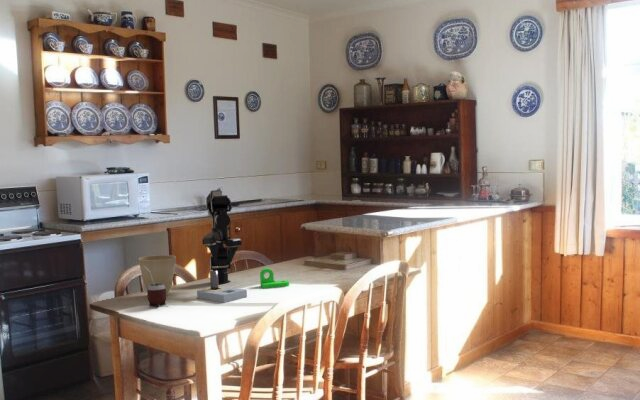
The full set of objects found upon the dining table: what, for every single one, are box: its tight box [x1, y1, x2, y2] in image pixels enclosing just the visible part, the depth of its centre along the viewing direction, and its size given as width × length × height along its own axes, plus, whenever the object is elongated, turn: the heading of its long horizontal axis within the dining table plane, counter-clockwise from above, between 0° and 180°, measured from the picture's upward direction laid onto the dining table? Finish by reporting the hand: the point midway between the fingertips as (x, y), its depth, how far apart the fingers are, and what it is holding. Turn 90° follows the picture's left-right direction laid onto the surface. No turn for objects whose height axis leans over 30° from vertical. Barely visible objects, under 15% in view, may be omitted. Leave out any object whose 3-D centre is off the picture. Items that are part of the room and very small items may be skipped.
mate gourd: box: [144, 266, 167, 308], centre depth 252 cm, size 8×8×15 cm
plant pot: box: [138, 254, 177, 297], centre depth 270 cm, size 15×15×16 cm
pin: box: [209, 269, 220, 290], centre depth 265 cm, size 3×3×10 cm
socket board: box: [196, 285, 248, 304], centre depth 262 cm, size 16×12×3 cm
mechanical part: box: [259, 267, 290, 290], centre depth 283 cm, size 12×6×8 cm, turn 106°
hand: (222, 261), depth 279 cm, fingers open, 9 cm apart
